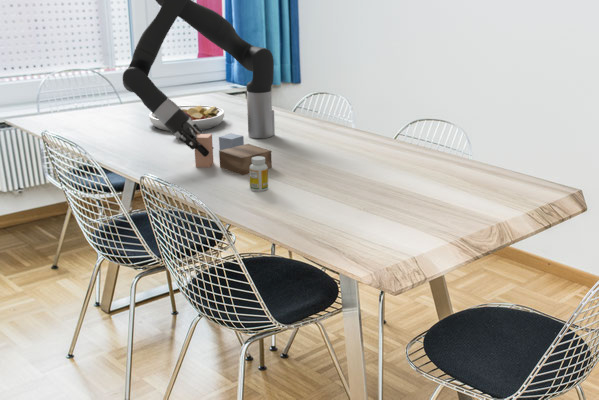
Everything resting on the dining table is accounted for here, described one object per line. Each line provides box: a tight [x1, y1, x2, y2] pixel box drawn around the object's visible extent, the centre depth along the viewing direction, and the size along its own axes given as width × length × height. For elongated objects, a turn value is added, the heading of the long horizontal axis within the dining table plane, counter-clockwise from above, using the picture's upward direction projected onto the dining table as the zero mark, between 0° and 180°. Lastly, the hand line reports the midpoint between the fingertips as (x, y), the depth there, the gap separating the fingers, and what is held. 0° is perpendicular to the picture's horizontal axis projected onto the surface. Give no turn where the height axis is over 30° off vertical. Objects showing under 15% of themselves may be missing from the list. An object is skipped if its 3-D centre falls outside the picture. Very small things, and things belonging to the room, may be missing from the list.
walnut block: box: [218, 143, 273, 176], centre depth 231 cm, size 12×12×6 cm
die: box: [174, 117, 193, 140], centre depth 268 cm, size 8×9×10 cm
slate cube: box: [218, 132, 245, 150], centre depth 248 cm, size 6×6×6 cm
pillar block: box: [194, 133, 214, 168], centre depth 234 cm, size 5×5×10 cm
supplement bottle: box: [249, 156, 269, 193], centre depth 210 cm, size 5×5×10 cm
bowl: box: [148, 104, 225, 132], centre depth 289 cm, size 30×30×8 cm
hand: (209, 152), depth 234 cm, fingers closed on pillar block, 4 cm apart
